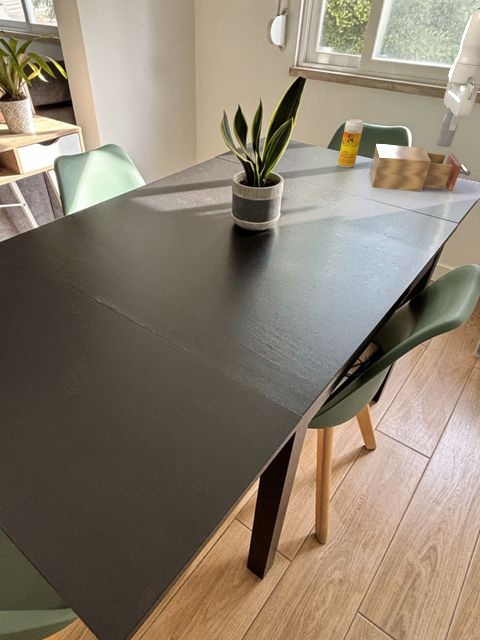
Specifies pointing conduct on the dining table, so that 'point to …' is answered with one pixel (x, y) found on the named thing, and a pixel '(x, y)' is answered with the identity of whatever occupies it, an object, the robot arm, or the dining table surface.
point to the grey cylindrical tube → (446, 131)
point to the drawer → (444, 171)
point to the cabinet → (399, 167)
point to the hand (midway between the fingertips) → (449, 127)
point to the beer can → (350, 143)
